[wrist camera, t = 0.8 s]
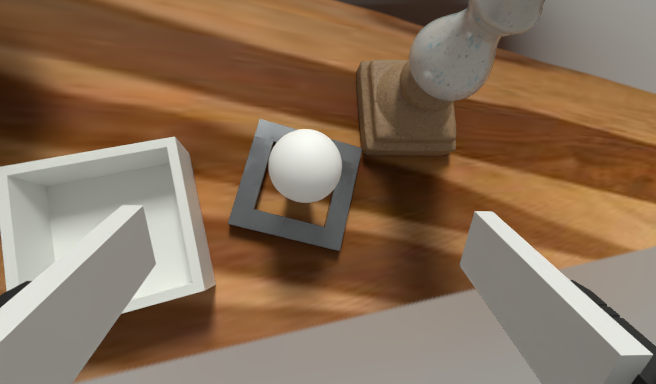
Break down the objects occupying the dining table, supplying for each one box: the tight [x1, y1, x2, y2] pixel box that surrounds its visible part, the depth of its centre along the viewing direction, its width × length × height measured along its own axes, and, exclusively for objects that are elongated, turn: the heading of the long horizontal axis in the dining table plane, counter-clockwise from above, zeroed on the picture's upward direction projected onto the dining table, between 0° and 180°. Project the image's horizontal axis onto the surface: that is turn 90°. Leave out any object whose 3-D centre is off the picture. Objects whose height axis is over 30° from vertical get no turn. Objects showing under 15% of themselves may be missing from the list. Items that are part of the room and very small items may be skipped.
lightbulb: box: [269, 129, 342, 203], centre depth 28 cm, size 6×6×11 cm
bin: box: [0, 137, 216, 314], centre depth 28 cm, size 14×14×5 cm
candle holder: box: [356, 0, 545, 156], centre depth 26 cm, size 11×11×24 cm
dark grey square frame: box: [228, 119, 362, 251], centre depth 33 cm, size 12×12×1 cm
